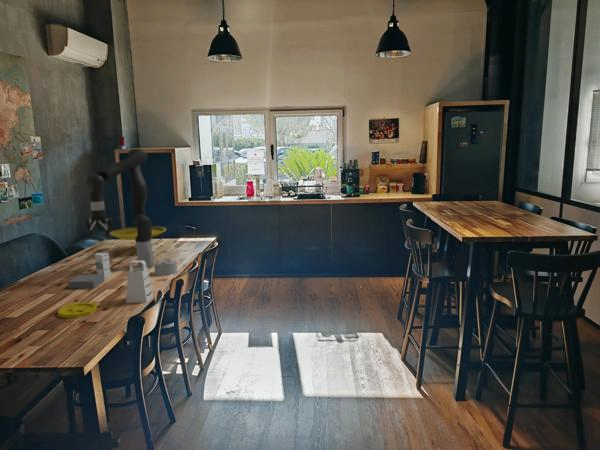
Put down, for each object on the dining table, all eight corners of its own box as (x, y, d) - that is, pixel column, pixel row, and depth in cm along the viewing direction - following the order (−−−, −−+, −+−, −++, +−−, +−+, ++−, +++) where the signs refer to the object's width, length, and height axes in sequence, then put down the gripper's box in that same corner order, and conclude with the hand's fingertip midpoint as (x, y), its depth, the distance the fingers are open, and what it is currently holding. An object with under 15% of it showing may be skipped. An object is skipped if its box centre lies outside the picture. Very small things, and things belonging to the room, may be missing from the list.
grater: (133, 295, 247) (130, 258, 243) (153, 295, 246) (151, 258, 243) (126, 302, 236) (122, 264, 233) (146, 302, 236) (143, 264, 232)
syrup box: (111, 275, 285) (109, 252, 282) (104, 278, 279) (102, 254, 276) (103, 275, 286) (101, 251, 284) (96, 277, 281) (94, 254, 278)
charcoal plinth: (104, 280, 274) (103, 274, 273) (93, 288, 260) (93, 281, 259) (80, 281, 274) (79, 274, 273) (68, 288, 260) (68, 281, 259)
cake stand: (179, 248, 356) (178, 228, 353) (135, 259, 322) (133, 238, 320) (143, 242, 377) (142, 224, 374) (99, 253, 344) (97, 233, 341)
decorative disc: (57, 321, 213) (57, 317, 213) (59, 309, 229) (59, 305, 229) (97, 315, 220) (97, 311, 220) (97, 303, 236) (96, 300, 236)
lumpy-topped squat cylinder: (156, 271, 292) (155, 258, 291) (177, 270, 295) (176, 256, 293) (154, 276, 282) (153, 262, 281) (176, 274, 285) (175, 260, 283)
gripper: (112, 207, 279) (114, 234, 282) (88, 208, 279) (91, 234, 282) (107, 209, 272) (109, 237, 275) (82, 210, 272) (85, 237, 275)
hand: (100, 236), depth 278 cm, fingers open, 8 cm apart
